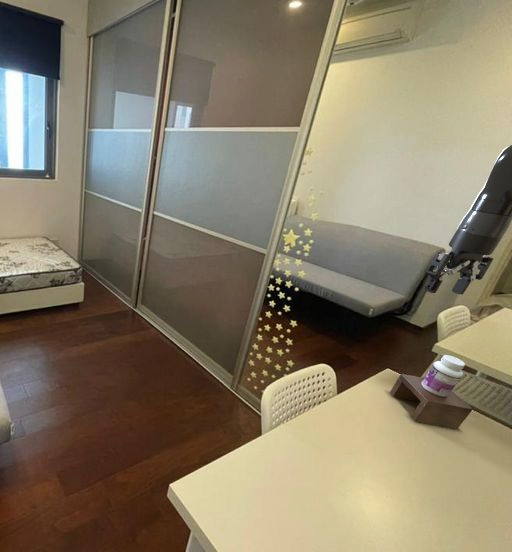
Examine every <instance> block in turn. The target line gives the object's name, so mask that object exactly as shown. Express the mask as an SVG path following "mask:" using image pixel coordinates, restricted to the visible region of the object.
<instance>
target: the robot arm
mask: <svg viewBox="0 0 512 552" xmlns="http://www.w3.org/2000/svg"><path fill="white" fill-rule="evenodd" d="M511 223H512V143H511V144H509V145H508V146H507V147H505V148H504V149H503V150H502V151H501V153H500V154H499V155H498V157H497V158H496V160H495V163H494V165H493V166H492V168H491V170H490V173H489V175H488V178H487V179H486V182H485V184H484V186H483V187H482V189H481V190H480V192H479V193H478V194H477V196H476V198H475V200H474V201H473V203H472V205H471V207H470V208H469V210H468V211H467V213H466V214H465V215H464V216H463V218H462V220H461V221H460V222H459V224H458V226H457V228H456V230H455V232H454V233H453V235H452V237H451V239H450V241H449V242H448V246H449V247H450V248H451V250H449V252H448V253H446V252H443V251H437V252H436V254H434V257H433V258H432V260H431V262H430V263H429V265H428V267H427V268H426V270H425V272H424V273H425V274H427V275H428V276H429V277H430V278H429V279H428V281H427V283H426V285H425V286H424V290H425V292H427V293H430V294H436V293H437V291H438V290H439V288H440V287H441V285H442V283H443V280H445V279H446V278H447V277H448V276H452V275H455V274H456V273H459V278H458V279H457V281H456V282H455V284H454V285H453V287H452V289H451V292H453V293H454V294H457V295H462V296H463V295H464V294H465V292H466V290H467V289H468V288H469V286H470V284H471V283H473V282H475V281H476V280H478V281H481V280H482V279H483V278H484V276H485V275H486V272H487V271H488V270H489V268H490V266H491V264H492V262H493V261H494V258H493V257H491V255H492V254H494V252H495V250H496V248H497V247H498V246H499V243H500V242H501V241H502V239H503V238H504V236H505V234H506V233H507V231H508V229H509V228H510V226H511ZM435 267H436V268H435Z"/></svg>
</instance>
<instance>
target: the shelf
mask: <svg viewBox="0 0 512 552" xmlns="http://www.w3.org/2000/svg"><path fill="white" fill-rule="evenodd" d="M424 378H425V377H420V376H416V375H409V374H403V373H400V375H399V376H398V377H397V379H396V381H395V383H394V384H393V386H392V388H391V389H390V391H389V395H390V396H391V397H393V398H397V399H401V400H407V401H413V402H418V403H419V404H418V405H417V407H416V408H415V410H414V411H413V412H412V414H411V415H410V419H411V420H412V421H413V423H414V422H415V423H420V424H425V425H430V426H436V427H441V428H445V429H451V430H456V431H457V430H458V429H459V428H460V427H461V426H462V424H463V423H464V422H465V420H466V419H467V418H468V417H469V415H470V414H471V413H472V411H473V410H474V409H473V408H472V407H471V406H470V405H469V404H468V403H466V402H465V401H464V400H463V399H462V398H461V397H460V396H459V395H458V394H456V393H455V391H453V390H452V391H451V392H450V394H449V395H448V396H446V397H442V396H438V395H435V394H433V393H431V392H429V391H427V390H426V389H425V388H424V387H423V386H422V381H423V379H424Z"/></svg>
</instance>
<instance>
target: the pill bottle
mask: <svg viewBox="0 0 512 552" xmlns="http://www.w3.org/2000/svg"><path fill="white" fill-rule="evenodd" d="M465 366H466V363H465V362H464V361H463V360H462V359H459V358H457V357H456V356H453V355H449V354H444V355H443V356H442V357H441V358H440V360H437V361H435V362H433V364H432V365H431V367H430V369H429V370H428V371H427V373H426V374H425V376H424V377H423V378H424V379H423V381H422V386H423V387H424V388H425V389H426V390H427V391H429V392H431V393H433V394H435V395H438V396H442V397H446V396H448V395H449V394H450V392H451V391H453V390H454V388H455V387H456V386H457V384H458V383H459V382H460V380H461V379H462V377H464V373H463V369H464V368H465Z"/></svg>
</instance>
